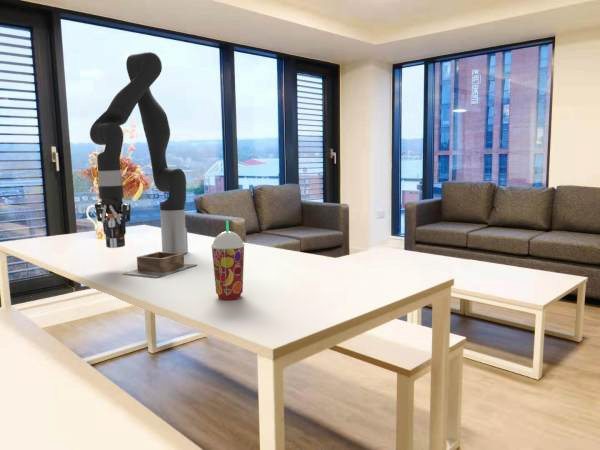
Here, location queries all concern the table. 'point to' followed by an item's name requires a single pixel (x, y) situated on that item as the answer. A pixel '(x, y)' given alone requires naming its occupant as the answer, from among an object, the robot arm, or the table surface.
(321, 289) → the table surface
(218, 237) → the smoothie
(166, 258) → the well
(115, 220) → the pill bottle
